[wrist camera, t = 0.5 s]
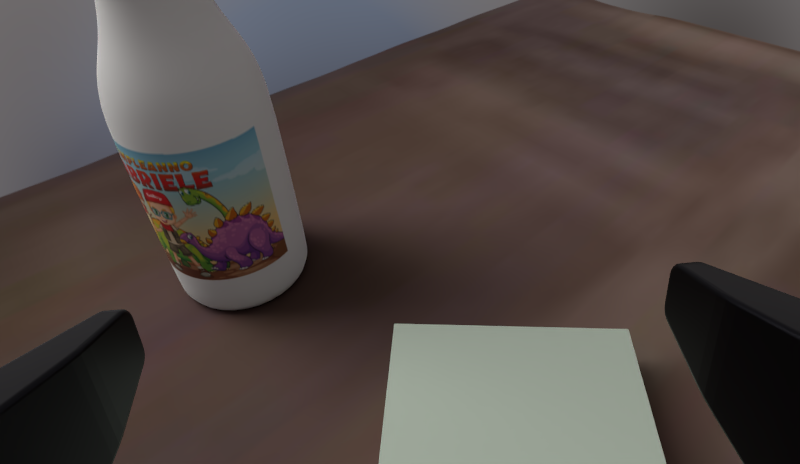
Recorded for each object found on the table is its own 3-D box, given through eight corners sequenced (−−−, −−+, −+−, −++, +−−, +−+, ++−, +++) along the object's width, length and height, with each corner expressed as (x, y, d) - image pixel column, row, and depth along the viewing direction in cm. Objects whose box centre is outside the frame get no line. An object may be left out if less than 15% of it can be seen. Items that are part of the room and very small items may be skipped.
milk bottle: (216, 221, 37) (85, -124, 24) (324, 229, 36) (250, -132, 23) (159, 308, 32) (-51, -79, 19) (285, 322, 30) (156, -86, 17)
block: (684, 624, 19) (706, 604, 18) (372, 600, 20) (365, 580, 19) (618, 359, 27) (628, 329, 26) (397, 353, 28) (394, 323, 27)
